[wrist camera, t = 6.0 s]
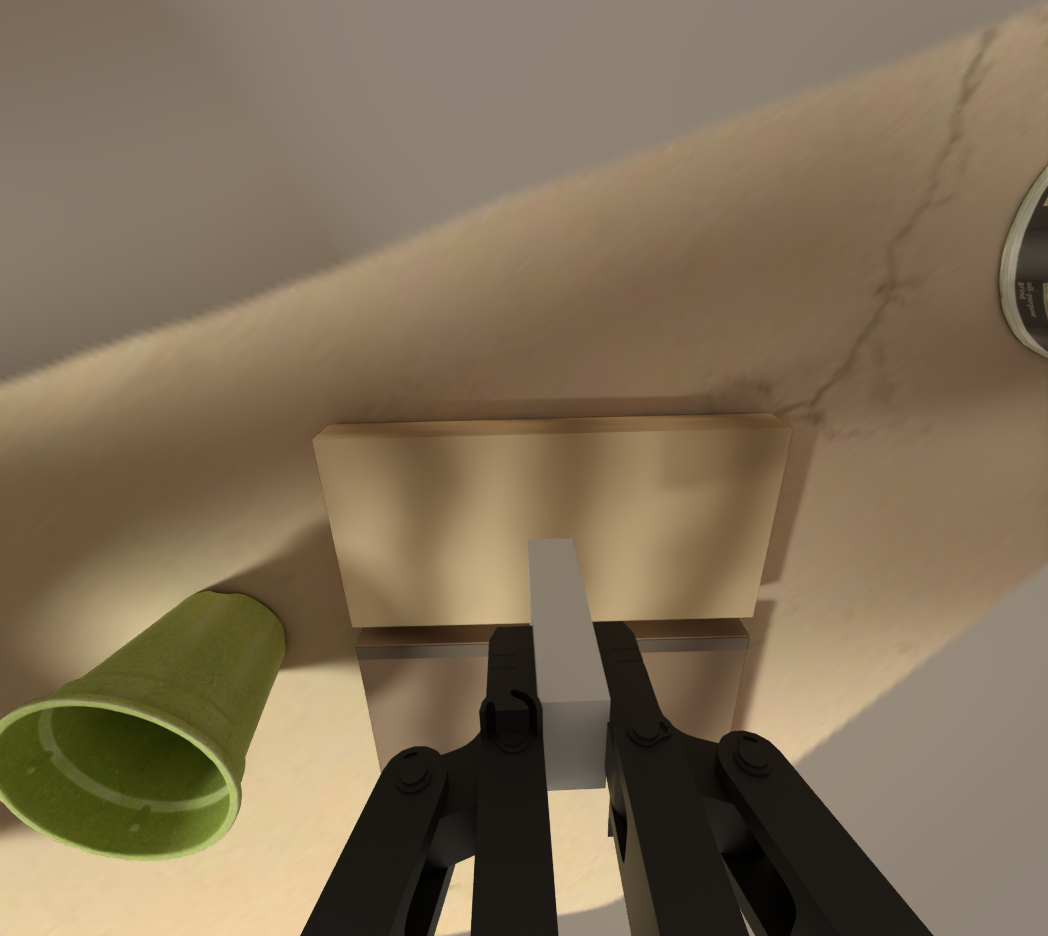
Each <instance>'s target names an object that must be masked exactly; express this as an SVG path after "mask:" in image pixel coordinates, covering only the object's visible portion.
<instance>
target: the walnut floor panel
mask: <svg viewBox="0 0 1048 936" xmlns="http://www.w3.org/2000/svg"><path fill="white" fill-rule="evenodd" d="M592 622H610V621H592ZM623 622H624V623H625V624H626V625H627V626H628V628H629V629H630V630H631V631H632V632H633V633H634V635H635V637H636V640H637V643H638V646H639V651H640V652H641V655H642V658H643V663H644V664H645V667H646V669H647V672H648V675H649V678H650V681H651V684H652V687H653V690H654V693H655V696H656V699H657V701H658V704H659V707H660V709H661V711H662V713H663V715H664V716H665V717H666V718H667V719H668V720H669V721H670V722H671V724H672V725H673V726H674V727H675V728H677V729H678V730H680V731H682V732H683V733H685V734H688V735H690V736H693V737H696V738H700V739H704V740H708V741H712V742H716V743H719V742H720V740H721V738H722V736H724V735H726V734H728V733H729V732H731V726H732V721H733V716H734V711H735V706H736V701H737V696H738V691H739V685H740V680H741V675H742V670H743V665H744V660H745V655H746V650H747V647H748V642H749V634H748V633H747V631H746V629H745V628H744V626H743V625H742V623H741V621H740V620H739V618H706V619H667V620H628V621H623ZM511 626H530V623H511V624H472V625H433V626H394V627H363V630H362V632H361V634H360V637H359V639H358V641H357V644H356V652H357V657H358V660H359V665H360V670H361V675H362V680H363V685H364V690H365V695H366V700H367V705H368V710H369V715H370V720H371V725H372V730H373V735H374V740H375V745H376V750H377V755H378V760H379V765H380V770H381V773H382V771H383V769H384V768H385V766H386V765H387V764H388V762H389V761H390V760H391V758H393V757H394V756H395V755H397V754H398V753H399V752H401V751H402V750H405V749H408V748H411V747H413V746H427V747H430V748H432V749H435V750H437V751H438V752H439V753H440V754H441V755H442V754H445V753H448V752H451V751H453V750H456V749H459V748H461V747H463V746H465V745H467V744H468V743H469V742H470V741H472V740H473V739H474V738H475V737H476V736H477V734H478V733H479V732H480V718H479V710H480V707H481V703H482V701H483V700H484V699H485V697H486V688H487V671H488V650H489V640H490V638H491V636H492V635H493V633H494V631H495V630H496V628H497V627H511Z"/></svg>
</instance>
